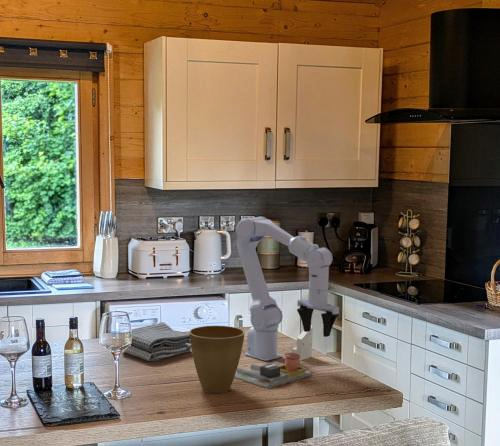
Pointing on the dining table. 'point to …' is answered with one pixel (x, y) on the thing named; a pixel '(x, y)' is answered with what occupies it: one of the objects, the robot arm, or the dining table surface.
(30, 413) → the dining table surface
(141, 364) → the dining table surface
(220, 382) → the plant pot
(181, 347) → the towel
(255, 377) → the panel
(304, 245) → the robot arm
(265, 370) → the switch
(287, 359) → the cap
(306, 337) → the white angled block
